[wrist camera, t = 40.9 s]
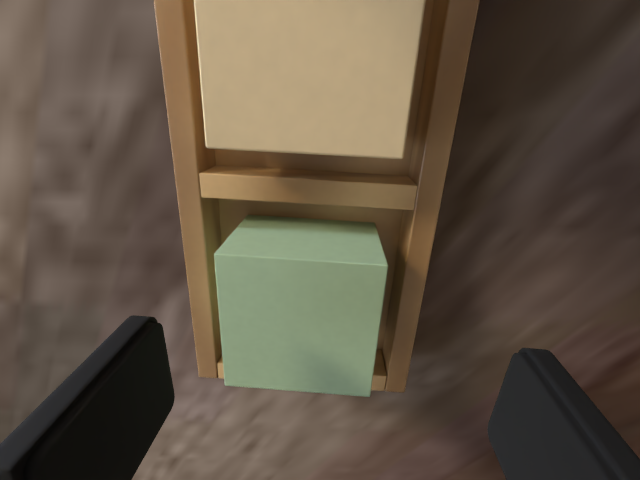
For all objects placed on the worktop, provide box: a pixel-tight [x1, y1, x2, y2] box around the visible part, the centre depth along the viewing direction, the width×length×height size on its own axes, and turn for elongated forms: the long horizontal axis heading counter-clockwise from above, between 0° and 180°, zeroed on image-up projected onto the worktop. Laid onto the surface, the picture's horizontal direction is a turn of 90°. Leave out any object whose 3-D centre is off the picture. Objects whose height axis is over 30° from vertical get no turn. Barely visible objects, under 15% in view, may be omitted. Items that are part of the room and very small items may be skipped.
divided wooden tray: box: [154, 0, 480, 393], centre depth 14 cm, size 10×20×3 cm, turn 177°
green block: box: [214, 215, 388, 397], centre depth 14 cm, size 6×6×4 cm
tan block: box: [194, 0, 426, 159], centre depth 11 cm, size 6×6×4 cm
